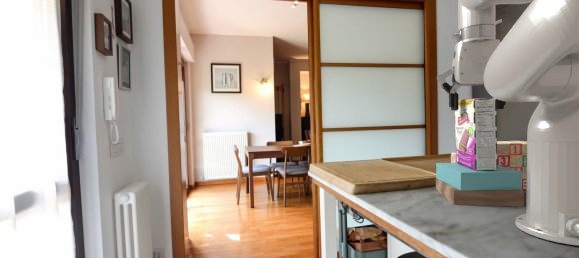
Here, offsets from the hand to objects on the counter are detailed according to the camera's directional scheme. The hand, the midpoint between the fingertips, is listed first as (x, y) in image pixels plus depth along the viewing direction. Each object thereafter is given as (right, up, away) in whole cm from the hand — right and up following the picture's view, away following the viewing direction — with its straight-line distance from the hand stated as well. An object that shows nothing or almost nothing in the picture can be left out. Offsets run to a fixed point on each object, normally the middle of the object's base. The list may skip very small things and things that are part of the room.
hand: (476, 109), depth 74 cm
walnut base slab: (0, -22, +1) cm, 22 cm away
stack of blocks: (+11, -21, +10) cm, 26 cm away
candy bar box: (0, -14, +1) cm, 14 cm away
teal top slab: (0, -18, +1) cm, 18 cm away
